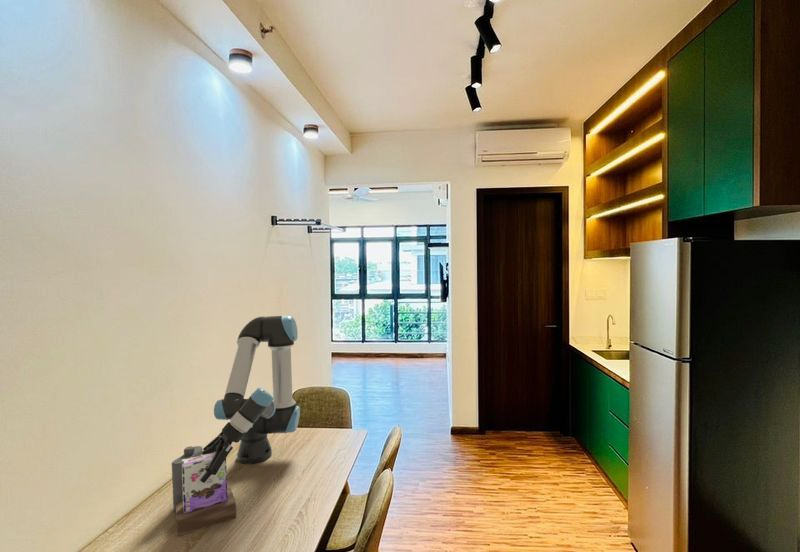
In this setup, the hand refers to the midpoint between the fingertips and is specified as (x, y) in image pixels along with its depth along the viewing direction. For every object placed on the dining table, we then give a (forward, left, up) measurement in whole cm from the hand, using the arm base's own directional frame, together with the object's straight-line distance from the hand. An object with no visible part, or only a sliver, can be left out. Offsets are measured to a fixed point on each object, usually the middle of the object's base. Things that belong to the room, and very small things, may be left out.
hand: (192, 480), depth 139 cm
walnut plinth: (0, +4, -14) cm, 15 cm away
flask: (-15, 0, -14) cm, 21 cm away
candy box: (0, +4, -9) cm, 10 cm away
